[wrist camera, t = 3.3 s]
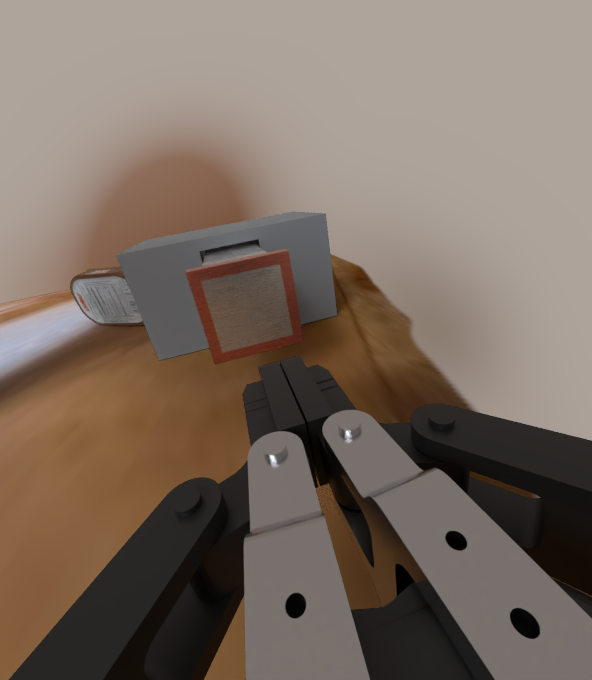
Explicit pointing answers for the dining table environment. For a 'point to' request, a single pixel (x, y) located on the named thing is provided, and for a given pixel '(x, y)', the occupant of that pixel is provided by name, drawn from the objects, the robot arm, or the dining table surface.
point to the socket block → (188, 252)
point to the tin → (106, 297)
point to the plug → (245, 300)
